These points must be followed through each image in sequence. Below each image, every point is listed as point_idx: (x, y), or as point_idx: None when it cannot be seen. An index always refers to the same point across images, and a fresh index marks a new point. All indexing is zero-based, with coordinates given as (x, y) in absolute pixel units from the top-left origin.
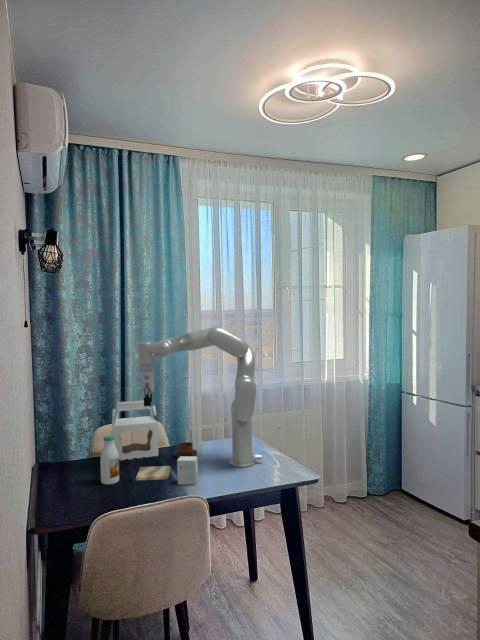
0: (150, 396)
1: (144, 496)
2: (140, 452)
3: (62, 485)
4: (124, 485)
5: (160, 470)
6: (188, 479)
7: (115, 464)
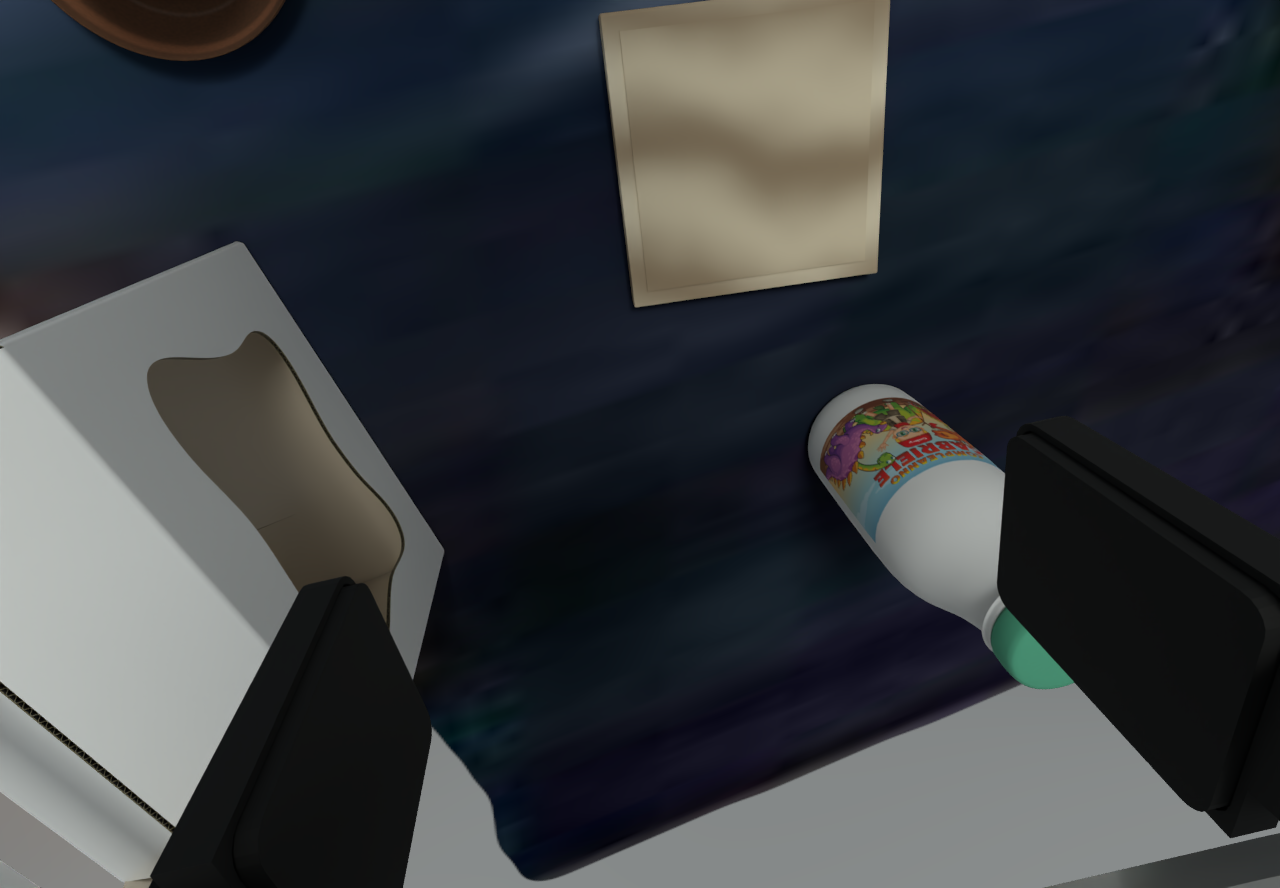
0: (314, 768)
1: (1186, 110)
2: (323, 406)
3: (875, 651)
4: (946, 320)
5: (736, 94)
6: None
7: (970, 444)
